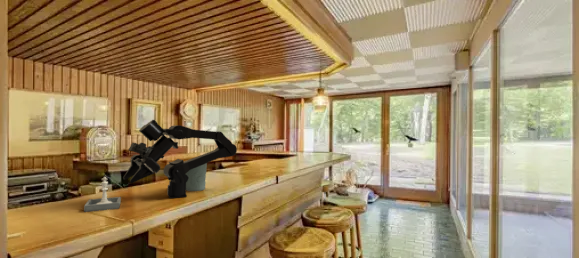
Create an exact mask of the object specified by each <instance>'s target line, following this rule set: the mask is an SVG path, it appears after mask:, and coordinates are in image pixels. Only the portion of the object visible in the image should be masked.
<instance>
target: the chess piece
mask: <svg viewBox="0 0 579 258" xmlns="http://www.w3.org/2000/svg"><path fill="white" fill-rule="evenodd" d="M107 180H108V178H107V177H106V176H103V178H101V181H102V182H101V183H100V184H101V186H102V188H101V189H100V190H101V191H102V195H101V198H102V200H101V202H99V203H97V204H106V203H112V202H111V201H108V200H107V198H108V196H107V191H108V189H109V188H108V184H109V181H107Z"/></svg>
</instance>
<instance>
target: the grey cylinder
mask: <svg viewBox="0 0 579 258" xmlns="http://www.w3.org/2000/svg"><path fill="white" fill-rule="evenodd" d="M207 164H208V163H206V164H204V165H201V166H199V167H196V168H194V169H191V170H189V171H188V172H187V173H186V175H187V176H188V177H189V178H188V181H187V182H186V192H187V191H188V192H200V191H205V190H206V184H207V182H206V180H207V179H206V178H207V168H208V167H207Z"/></svg>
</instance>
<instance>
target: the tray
mask: <svg viewBox="0 0 579 258" xmlns="http://www.w3.org/2000/svg"><path fill="white" fill-rule="evenodd" d="M101 200H102V197H100V198H89V199H88V200H87V201H86V203H85V204H84V207H83V208H84V209H83V211H84V213H88V212H97V211H99V210H100V211H108V210H109V209H110V210H118V209H120V206H121V204H122V203H121V202H122V196H115V197H107V200H108V201H111V202H112V203H106V204H97V203H99V202H101ZM107 209H108V210H107ZM110 210H109V211H110Z"/></svg>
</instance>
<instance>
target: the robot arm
mask: <svg viewBox="0 0 579 258" xmlns="http://www.w3.org/2000/svg"><path fill="white" fill-rule="evenodd" d="M138 132H139V133H140V134H142V136H144V137H145V138H146V139H147V140H148V141H149V142H155V143H153V144H152V145H149V146H147V144H146V143H144V142H139V143H137V142H131V144H130V146H129V148H128V151H130V152H134V153H137V154H133V155H132V156H131V157H130V159H129V161H130V165H129V168H128V169H127V171H126V173H125V174H124V176H123V177H122V178H123V180H128V179H130V180H129V183H130V184H133V183H136V182H138V181H140V180H142V179H144V178H147V177H149V176H152V175H155V174H157V173H158V172H159V171H160V170H161V165H160V164H159V163H158V162H159V161H160V159H164V158H165V154H167V153H168V152H169V151H170V150H171V149H172V148H173V149H176V150H177V149H179V142H178V141H174V140H185V139H186V140H188V139H202V140H203V139H205V140H213V141H214V142H215V145H216V148H215V149H213V150H210V151H208V152H205V153H203V154H201V155H198V156H196V157H193V158H190V159H187V160H183V159H179V158H177V159H175V160H173V161H169V162H168V164H166V165H164V167H163V174H164V176H165V177H167V179H168V180H167V181H169V182H168V185H167V196H168V197H169V199H177V198H186V197H187V190H186V182H187V181H188V178H189V177H188V176H187V175H186V173H187V172H188V171H189V170H191V169H194V168H196V167H199V166H201V165H204V164H206V163H207V164H209V163H211V162H212V161H215V160H218V159H222V158H229V157H234V156H236V155H237V151H238V148H237V146H236V145H235V144H234V143H233V142H232V141H231V140H230V139H229V138H228V137H226V136H225V134H224V133H223V132H222V131H217V130H215V131H212V130H203V129H202V130H201V129H193V128H190V127H187V126H184V125H180V124H179V125H177V124H176V125H170V126H169V127H168V128H163V127H162V126H161V125H160V124H159V123H158V122H157V121H156V120H155V119H152V120H150V121H149V122H147V123H146V124H143V126H142V127H140V129H139V130H138Z"/></svg>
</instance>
